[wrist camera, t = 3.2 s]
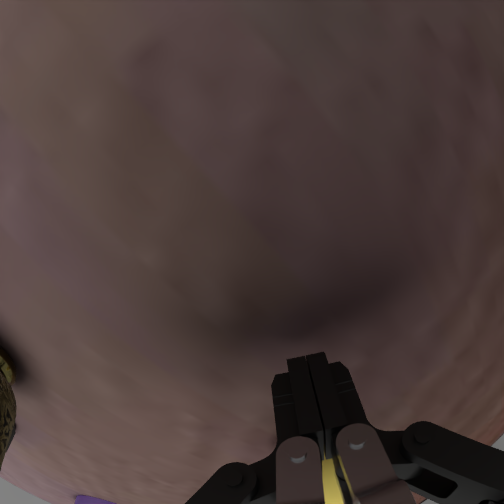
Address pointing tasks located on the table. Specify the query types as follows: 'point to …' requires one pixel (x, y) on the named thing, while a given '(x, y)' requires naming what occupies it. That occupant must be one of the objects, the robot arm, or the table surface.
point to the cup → (6, 401)
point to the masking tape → (90, 500)
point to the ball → (330, 483)
